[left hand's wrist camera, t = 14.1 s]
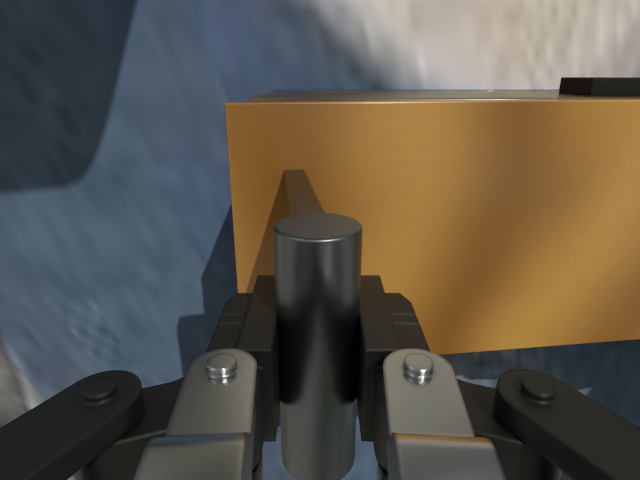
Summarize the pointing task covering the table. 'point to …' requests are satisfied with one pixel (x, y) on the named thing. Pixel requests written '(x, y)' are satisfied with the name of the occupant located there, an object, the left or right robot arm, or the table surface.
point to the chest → (421, 95)
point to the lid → (430, 235)
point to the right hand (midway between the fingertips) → (553, 200)
